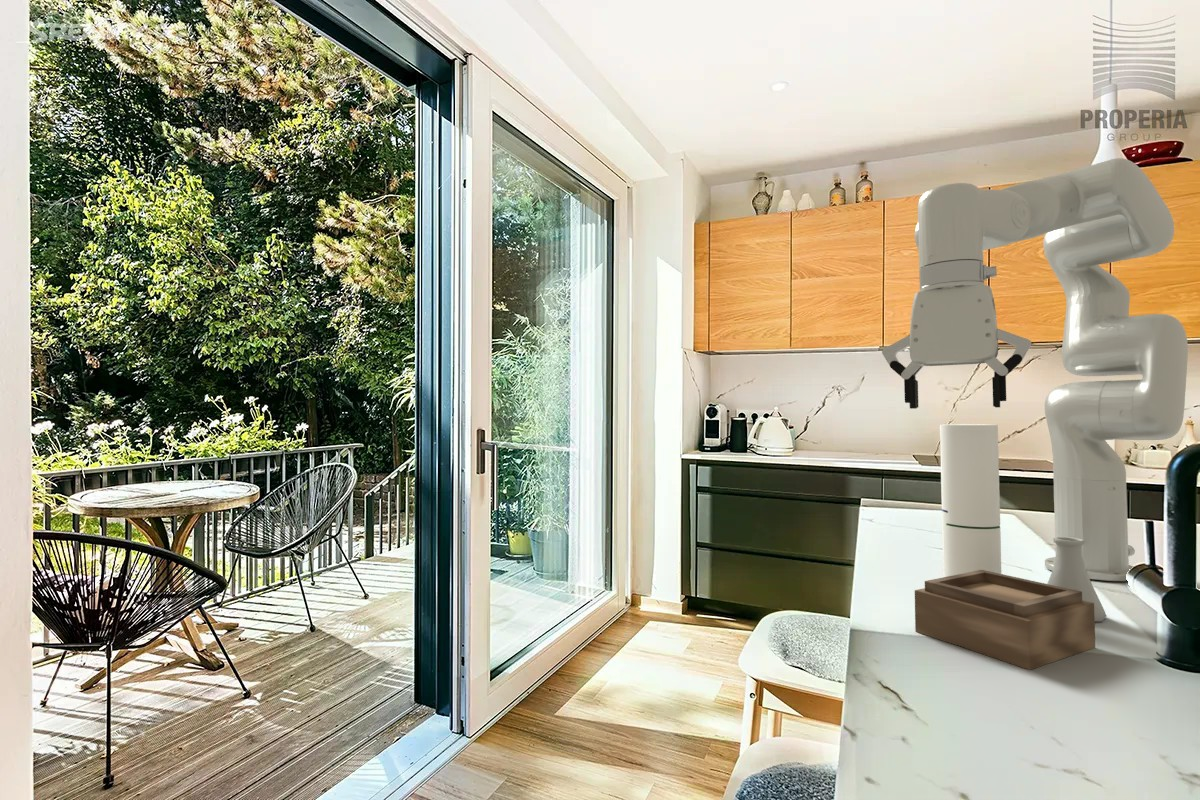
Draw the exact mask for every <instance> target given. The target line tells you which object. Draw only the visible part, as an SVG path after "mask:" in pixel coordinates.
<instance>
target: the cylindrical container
mask: <svg viewBox="0 0 1200 800" xmlns="http://www.w3.org/2000/svg"><path fill="white" fill-rule="evenodd" d="M939 441H940V442H939V443H940V444H939V445H940V446H939V447H940V448H939V449H940V485H941V487H940V488H941V489H940V490H941V491H940V492H941V497H940V498H941V530H942V531H941V534H942V535H941V536H942V537H941V538H942V572H943V574H942V576H943V577H948V576H953V575H958V574H963V573H968V572H973V571H978V570H985V571H990V572H994V573H999V574H1002V543H1001V542H1002V539H1001V537H1002V536H1001V533H1002V532H1001V500H1000V499H1001V497H1000V496H1001V495H1000V466H999V465H1000V464H999V459H1000V458H999V456H1000V455H999V424H995V423H994V424H993V423H987V424H986V423H983V424H982V423H979V424H977V423H972V424H971V423H970V424H969V423H960V424H959V423H956V424H955V423H952V424H951V423H950V424H949V423H947V424H945V423H944V424H943V423H942V424H939ZM943 577H942V578H943Z"/></svg>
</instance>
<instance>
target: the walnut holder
mask: <svg viewBox="0 0 1200 800" xmlns="http://www.w3.org/2000/svg"><path fill="white" fill-rule="evenodd" d="M914 617H915V618H914V619H915V622H914V624H915V625H914V626H915V627H914V629H915V632H916V633H919V634H922V635H925V636H927V637H931V638H934V639H937V640H939V639H940V641H942V640H943V642H945V641H946V642H945V643H948V642H949V643H948V644H951V643H953V644H952V645H954V644H955V646H957V645H959V646H958V647H960V646H962V647H961V648H963V647H965V648H964V649H966V648H967V649H966V650H969V649H970V650H969V651H972V650H973V651H972V652H976V653H978V654H981V655H984V656H987V657H990V658H993V659H997V660H1000V661H1002V662H1005V663H1008V664H1011V665H1014V666H1017V667H1020V668H1023V669H1025V670H1029V671H1030V670H1032V669H1033V670H1034V669H1036V668H1039V667H1041V666H1045V665H1048V664H1050V663H1054V662H1056V661H1059V660H1062V659H1065V658H1068V657H1071V656H1074V655H1077V654H1080V653H1083V652H1086V651H1089V650H1093V649H1096V628H1095V627H1096V625H1095V624H1096V623H1095V616H1094V603H1092V602H1087V601H1083V600H1082V591H1077V590H1072V589H1068V588H1063V587H1059V586H1054V585H1049V584H1048V583H1044V582H1041V581H1035V580H1030V579H1027V578H1021V577H1016V576H1011V575H1007V574H1003V573H1001V574H999V573H994V572H990V571H985V570H978V571H973V572H968V573H963V574H958V575H953V576H948V577H938V578H932V579H929V580H924V588H919V589H914Z"/></svg>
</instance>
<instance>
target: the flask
mask: <svg viewBox="0 0 1200 800" xmlns="http://www.w3.org/2000/svg"><path fill="white" fill-rule="evenodd" d="M1084 542H1085V541H1084V540H1083V539H1078V538H1073V537H1055V536H1054V537H1053V543H1054V544H1055V543H1056V552H1055V557H1056V559H1055V564H1054V568H1053V571H1051V573H1050V577H1049V578H1048V582H1047V584H1049V585H1054V586H1059V587H1063V588H1068V589H1072V590H1077V591H1082V600H1083V601H1087V602H1092V603H1094V616H1095V622H1103V621H1104V620H1105V619H1106V618H1107V616H1108V615H1107V614H1106V610H1105V609H1104V607H1103V604H1102V602H1101V601H1100V600H1101V599H1099V596H1098V594H1097V592H1096V589H1095V588H1094V585H1093V582H1092V581H1091V579H1090V578H1089V576H1088V574H1087V571H1086V569H1085V565H1084V561H1083V557H1082V545H1083V544H1084Z"/></svg>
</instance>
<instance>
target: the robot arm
mask: <svg viewBox="0 0 1200 800" xmlns="http://www.w3.org/2000/svg"><path fill="white" fill-rule="evenodd" d="M1173 218H1174V217H1173V215H1172V213H1171V211H1170V208H1169V207H1168V206H1167V204H1166V203H1165V201H1164V200H1163V198H1162V196H1161V195H1160V193H1159V192H1158V190H1157V189H1156V187H1155V186H1154V183H1152V181H1151V179H1150V178H1149V176H1147V174H1146V173H1145V172H1144V171H1143V170H1142V168H1140V167H1139V166H1138V165H1137V164H1136V163H1134V162H1133V161H1131V160H1129V159H1128V158H1123V157H1121V158H1120V157H1117V158H1112V159H1108V160H1105V161H1101V162H1097V163H1094V164H1091V165H1087V166H1084V167H1081V168H1077V169H1074V170H1069V171H1067V172H1063V173H1059V174H1056V175H1051V176H1047V177H1043V178H1039V179H1033V180H1029V181H1023V182H1020V183H1018V184H1014V185H1010V186H1008V187H1007V186H1006V187H1003V188H1001V189H983V188H979V187H978V186H976V185H974V184H972V183H967V182H958V183H957V182H955V183H947V184H944V185H942V184H941V185H939V186H936V187H933V188H931V189H928V190H927V191H925V192H924V193H923V194H922V195H921V197H920V198H919V200H918V204H917V224H916V225H915V229H914V242H915V245H916V247H917V249H918V268H919V271H918V273H919V278H918V279H919V291H917V292H915V293H914V296H913V301H912V307H911V314H910V326H909V329H910V330H909V335H907V336H904V337H903V338H901V339H899V340H898V341H895V342H893V343H891V344H890V345H888V346H886V347H885V348H883V349H882V350H881V354H882V356H883V358H884V359H885V360H886V362H887V364H888V365H889V368H890V369H892V370H893V372H895V373H896V374H897V375H899V376H900V377H901V379H903V380H904V381H903V382H904V387H903V389H904V402H905V404H909V409H911V410H912V409H918V408H919V381H918V380H917V379H916V377H917V376H916V375H917V374H918V373H919V372H920V371H921V370H922V368H924V367H925V366H926V367H933V366H934V367H937V366H938V367H942V366H957V365H958V366H959V365H960V366H962V365H979V364H981V365H982V364H987V366H989V367H990V368H991V370H992V371H993V373H994V374H993V376H992V377H991V378H992V381H991V382H992V407H995V408H1001V402H1007V376H1008V375H1009V374H1010V373H1011V372H1012V371H1013V370H1014V369H1016V368H1017V367H1018V366H1019V365H1020V364H1021V363H1022V362H1023V360H1024V358H1025V356H1026V355H1027V353H1028V351H1029V350H1030V349H1031V345H1032V341H1031V339H1028V338H1025V337H1022V336H1020V335H1018V334H1015V333H1012V332H1009V331H1006V330H1003V329H1001V328H998V322H997V312H996V311H997V310H996V305H995V303H996V302H995V298H994V295H993V291H992V288H991V286H989V285H987V284H985V282H986V281H987V280H988V279H991V278H995V277H997V276H998V271H997V266H989V265H988V266H987V264H984V251H988V250H991V249H995V248H997V249H998V248H1001V247H1004V246H1005V247H1006V246H1008V245H1010V244H1013V243H1017V242H1021V241H1025V240H1029V239H1034V238H1037V237H1039V236H1040V237H1041V236H1043V235H1044V237H1043V243H1042V246H1043V253H1044V256H1045V258H1046V260H1047V263H1048V264H1049V266H1050V268H1051V270H1052V271H1053V273H1054V275H1055V276H1056V279H1057V280H1058V282H1059V284H1060V286H1061V287H1062V290H1063V292H1064V295H1065V300H1066V301H1065V302H1066V308H1065V316H1064V317H1065V318H1064V326H1063V336H1062V338H1063V339H1062V344H1061V345H1062V347H1061V349H1062V350H1061V359H1062V360H1061V361H1062V365H1063V367H1064V369H1065V370H1066V371H1067V372H1069V374H1072V375H1075V376H1081V377H1107V376H1109V377H1112V376H1113V377H1114V376H1131V375H1133V376H1134V375H1142V378H1141V379H1127V380H1125V379H1121V380H1095V381H1093V380H1092V381H1091V380H1089V381H1077V382H1075V381H1074V382H1070V383H1066V384H1065V383H1064V384H1061V385H1059V386H1057V387H1054V388H1053V389H1052V390H1051V391H1050V392H1049V393H1048V394H1047V395H1046V398H1045V401H1044V415H1045V420H1046V423H1047V427H1048V432H1049V437H1050V442H1051V443H1050V444H1051V452H1052V468H1053V471H1052V472H1053V503H1054V504H1053V505H1054V507H1053V508H1054V512H1053V513H1054V538H1055V537H1073V538H1078V539H1083V540H1084V541H1085V542H1084V544H1083V545H1082V557H1083V561H1084V565H1085V569H1086V571H1087V574H1088V576H1089V578H1090V580H1096V581H1097V580H1098V581H1106V582H1107V581H1108V582H1127V581H1126V574H1127V572H1128V571H1129V569H1131V568H1132V567H1135V566H1133V565H1131V564H1129V559H1130V558H1129V557H1132V556H1134V554H1135V552H1136V550H1135V548H1134V547H1133V546H1132V545H1130V544H1129V532H1128V531H1129V530H1128V529H1129V527H1128V499H1127V496H1128V495H1127V471H1126V470H1127V469H1126V466H1125V464H1124V461H1123V460H1122V458H1121V457H1120V455H1119V454H1118V453H1117V452H1116V451H1115V449H1113V447H1111V446H1110V444H1109V443H1108V442H1107V441H1109V440H1110V441H1112V440H1113V441H1114V440H1118V441H1119V440H1120V441H1121V440H1123V441H1125V440H1126V441H1162V440H1167V439H1171V438H1173V437H1175V436H1176V435H1177V434H1178V433H1179V432H1180V430H1181V427H1182V424H1183V421H1184V415H1185V405H1186V404H1185V403H1186V389H1187V388H1186V387H1187V386H1186V385H1187V374H1188V373H1187V372H1188V358H1189V357H1188V356H1189V353H1188V352H1189V351H1188V350H1189V349H1188V347H1189V346H1188V345H1189V343H1188V338H1187V332H1186V330H1185V328H1184V325H1183V324H1182V323H1181V321H1180V320H1179V319H1177V318H1176V317H1175V316H1172V315H1169V314H1165V313H1151V314H1150V313H1149V314H1141V315H1140V314H1139V315H1130V314H1129V313H1130V302H1131V301H1130V299H1131V293H1130V291H1129V289H1128V288H1127V287H1126V285H1125V284H1124V283H1123V282H1122V281H1120V280H1119V278H1117V277H1116V276H1114V275H1113V274H1112V273H1110V272H1108V271H1107V270H1106V269H1104V268H1103V267H1102V266H1100V265H1104V264H1110V263H1116V262H1122V261H1127V260H1131V259H1138V258H1144V257H1149V256H1152V255H1156V254H1158V253H1161V252H1162V251H1164V250H1166V249H1167V248H1168V247H1169V246H1170V245H1171V243H1172V241H1173V238H1174V236H1175V222H1174V219H1173ZM999 341H1000V342H1002V343H1003V342H1004V343H1006V344H1009V345H1011V346H1014V347H1015V350H1014V352H1013V353H1012V355H1011V356H1010V357H1009V358H1008V359H1007V360H1006V361H1005V362H1003V363H1002V362H1001V361H1000V360H999V359H998V358H997V357H998V355H999ZM907 348H909V356H910V357H909V358H910V360H911V362H910V363H909V364H908V365H907V366H905V365H903V364H902V363H901V362H900V361H899V358H898V357H897V354H898V353H901V351H903V350H906V349H907ZM1054 545H1055V548H1054V549H1055V552H1054V553H1056V543H1054ZM1055 559H1056V556H1053V557H1048V558H1045V560H1044V567H1045V568H1046V569H1047V570H1050V571H1051V572H1052V571H1053V568H1054V564H1055Z"/></svg>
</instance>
